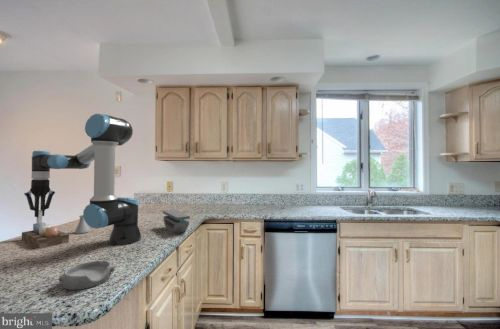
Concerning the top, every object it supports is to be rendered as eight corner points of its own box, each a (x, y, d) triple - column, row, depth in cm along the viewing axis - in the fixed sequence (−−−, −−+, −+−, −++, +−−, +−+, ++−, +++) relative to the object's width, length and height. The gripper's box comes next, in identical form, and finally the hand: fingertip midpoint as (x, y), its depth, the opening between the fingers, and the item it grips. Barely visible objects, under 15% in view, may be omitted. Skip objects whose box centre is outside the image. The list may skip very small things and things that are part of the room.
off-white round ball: (52, 234, 128) (53, 225, 128) (41, 237, 124) (41, 227, 124) (49, 233, 131) (49, 224, 131) (37, 235, 127) (37, 225, 127)
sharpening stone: (189, 234, 145) (189, 216, 145) (176, 236, 140) (176, 217, 140) (174, 225, 164) (174, 209, 165) (162, 227, 160) (163, 210, 160)
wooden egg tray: (68, 242, 126) (68, 234, 126) (39, 248, 116) (39, 240, 116) (49, 234, 139) (49, 227, 139) (21, 239, 129) (21, 232, 129)
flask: (82, 234, 141) (82, 217, 141) (71, 233, 142) (72, 216, 142) (92, 231, 148) (92, 214, 148) (82, 230, 149) (83, 214, 150)
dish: (119, 274, 90) (119, 261, 90) (88, 293, 76) (89, 277, 76) (85, 271, 92) (85, 258, 92) (49, 289, 79) (50, 273, 79)
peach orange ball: (59, 237, 124) (59, 227, 124) (47, 239, 120) (47, 229, 120) (55, 235, 127) (55, 226, 127) (43, 238, 122) (43, 228, 123)
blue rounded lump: (46, 232, 132) (46, 223, 133) (35, 234, 128) (35, 225, 128) (43, 231, 135) (43, 222, 135) (31, 233, 131) (31, 223, 131)
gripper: (52, 178, 140) (51, 219, 139) (22, 179, 128) (20, 223, 128) (57, 179, 136) (56, 221, 135) (27, 179, 125) (26, 226, 124)
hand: (39, 222), depth 132 cm, fingers closed
